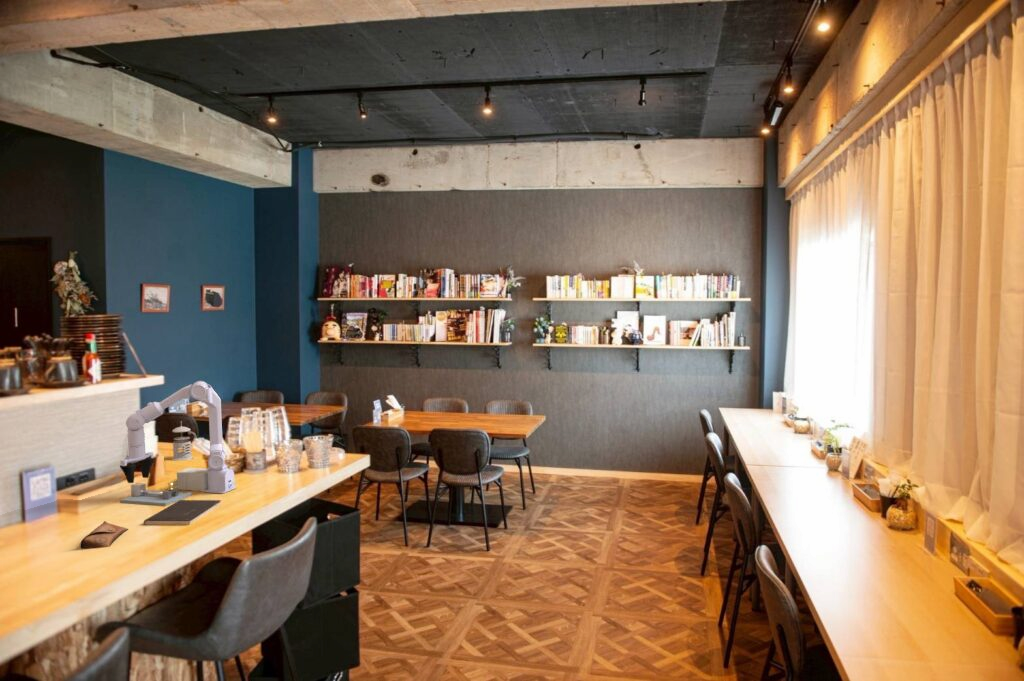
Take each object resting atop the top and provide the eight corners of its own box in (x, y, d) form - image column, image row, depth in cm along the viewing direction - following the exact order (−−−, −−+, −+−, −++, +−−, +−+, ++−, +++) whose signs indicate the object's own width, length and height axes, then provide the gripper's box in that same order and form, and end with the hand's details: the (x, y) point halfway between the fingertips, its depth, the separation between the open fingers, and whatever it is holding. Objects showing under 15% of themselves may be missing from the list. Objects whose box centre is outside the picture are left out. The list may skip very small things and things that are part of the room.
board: (191, 495, 270) (191, 492, 270) (165, 505, 256) (165, 503, 256) (147, 492, 274) (147, 489, 274) (120, 502, 261) (119, 499, 261)
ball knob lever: (167, 490, 263) (167, 483, 262) (174, 485, 269) (173, 479, 269) (172, 490, 263) (171, 483, 263) (178, 485, 269) (178, 479, 269)
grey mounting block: (178, 495, 266) (178, 488, 266) (168, 499, 261) (168, 491, 261) (173, 495, 267) (173, 487, 267) (162, 499, 261) (162, 491, 261)
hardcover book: (221, 506, 257) (221, 500, 257) (190, 526, 234) (190, 519, 234) (178, 506, 258) (178, 500, 258) (143, 526, 235) (143, 519, 235)
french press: (167, 458, 333) (165, 406, 332) (191, 454, 342) (189, 404, 341) (176, 461, 327) (174, 408, 326) (201, 457, 336) (199, 405, 334)
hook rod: (167, 495, 266) (166, 484, 266) (161, 497, 263) (161, 487, 263) (137, 493, 269) (136, 483, 269) (131, 495, 266) (130, 485, 266)
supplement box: (189, 484, 285) (216, 486, 283) (176, 489, 278) (204, 491, 275) (188, 467, 285) (216, 468, 282) (176, 471, 278) (204, 473, 275)
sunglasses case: (110, 546, 213) (97, 529, 212) (89, 560, 212) (76, 542, 211) (129, 528, 231) (117, 512, 230) (110, 540, 230) (98, 524, 229)
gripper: (141, 440, 274) (143, 474, 275) (112, 448, 260) (114, 484, 261) (157, 441, 272) (158, 475, 273) (128, 449, 258) (130, 485, 259)
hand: (138, 480), depth 267 cm, fingers open, 7 cm apart
